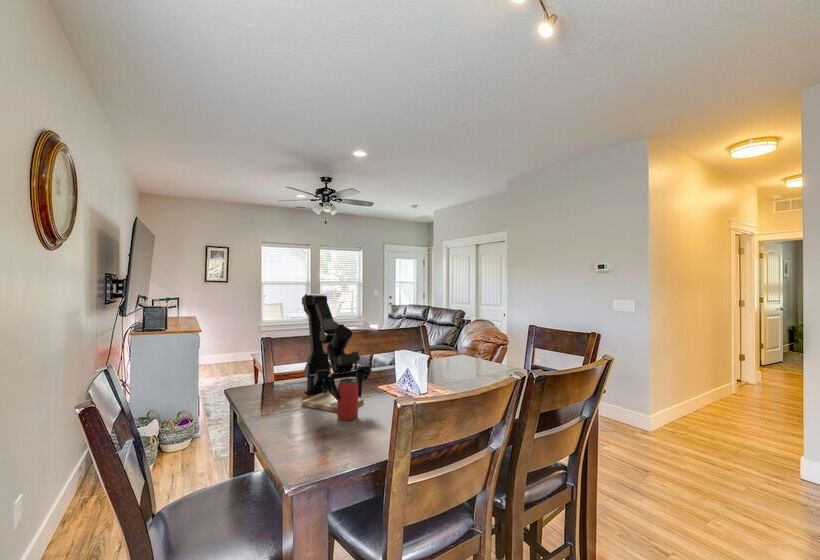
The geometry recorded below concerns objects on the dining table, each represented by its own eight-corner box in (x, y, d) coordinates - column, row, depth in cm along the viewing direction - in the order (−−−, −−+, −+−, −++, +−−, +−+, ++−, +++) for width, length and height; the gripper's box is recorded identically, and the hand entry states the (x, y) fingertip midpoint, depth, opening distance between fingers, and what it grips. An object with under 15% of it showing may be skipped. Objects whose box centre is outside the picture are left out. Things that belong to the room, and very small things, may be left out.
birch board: (301, 405, 138) (301, 400, 138) (322, 396, 149) (322, 392, 149) (346, 413, 130) (346, 408, 130) (364, 403, 141) (364, 398, 141)
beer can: (359, 414, 129) (360, 378, 129) (355, 421, 123) (355, 383, 123) (340, 413, 130) (341, 377, 130) (334, 420, 123) (335, 382, 123)
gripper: (316, 345, 125) (327, 388, 115) (369, 341, 135) (384, 381, 125) (309, 365, 132) (318, 407, 122) (360, 360, 141) (372, 399, 132)
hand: (349, 398), depth 125 cm, fingers open, 7 cm apart
